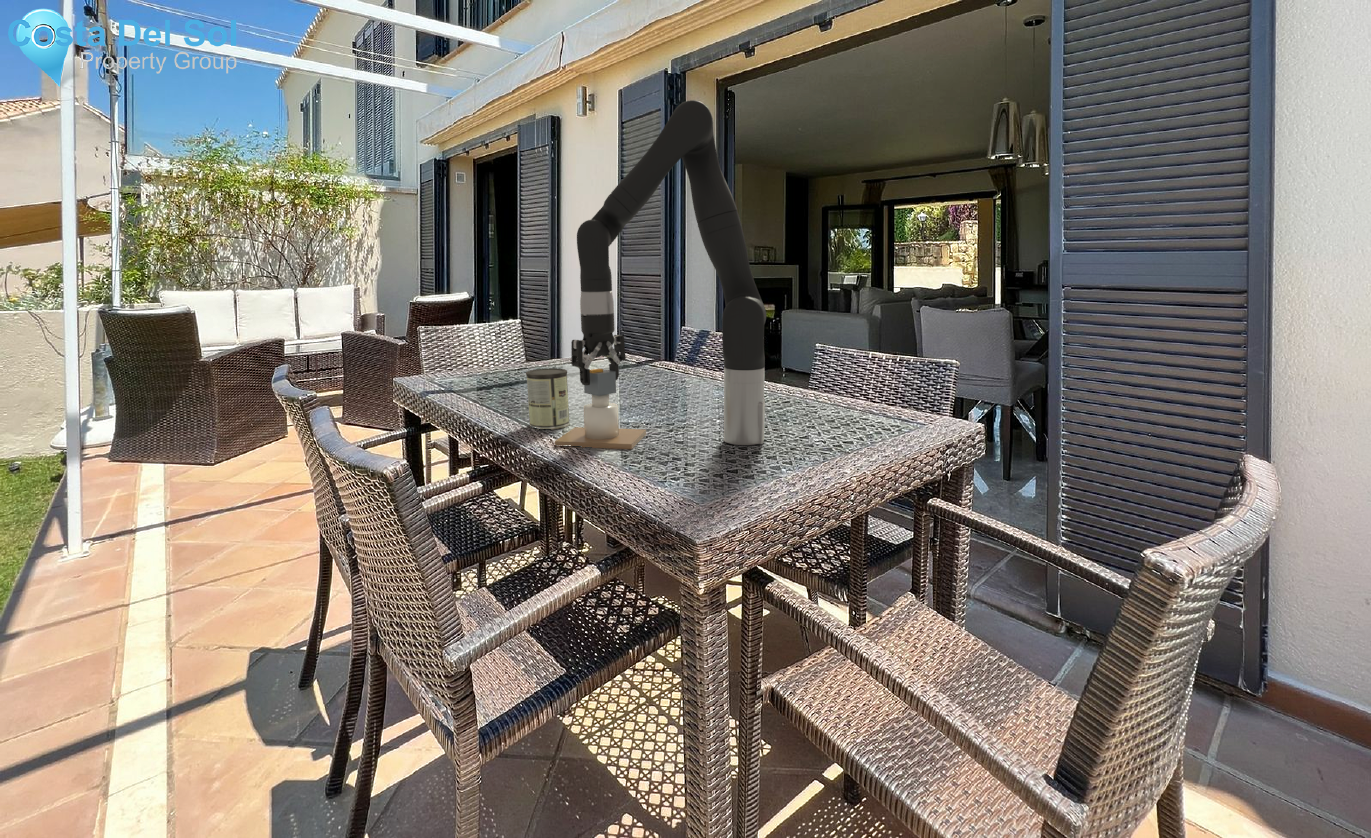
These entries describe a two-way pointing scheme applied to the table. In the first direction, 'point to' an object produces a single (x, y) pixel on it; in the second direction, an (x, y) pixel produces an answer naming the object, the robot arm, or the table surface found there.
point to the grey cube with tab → (601, 382)
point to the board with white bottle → (601, 428)
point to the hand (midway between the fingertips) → (600, 382)
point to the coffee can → (548, 398)
